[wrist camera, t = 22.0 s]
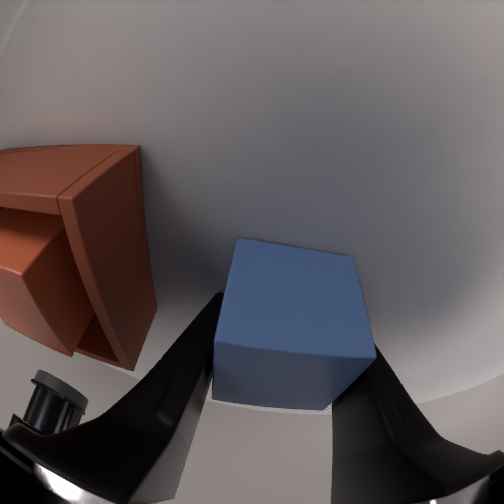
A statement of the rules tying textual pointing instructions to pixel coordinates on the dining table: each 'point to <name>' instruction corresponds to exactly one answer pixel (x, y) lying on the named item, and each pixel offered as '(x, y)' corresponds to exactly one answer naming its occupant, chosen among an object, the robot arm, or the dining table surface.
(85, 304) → the terracotta block
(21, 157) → the terracotta bin
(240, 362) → the slate block
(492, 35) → the dining table surface
